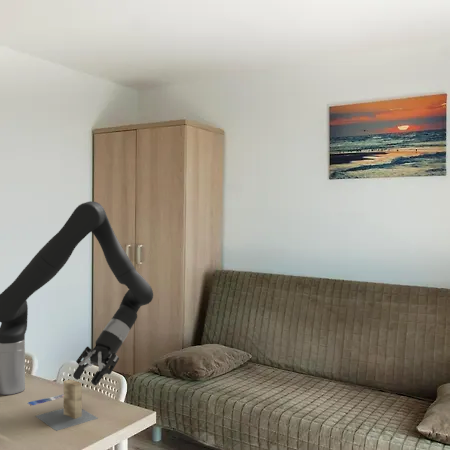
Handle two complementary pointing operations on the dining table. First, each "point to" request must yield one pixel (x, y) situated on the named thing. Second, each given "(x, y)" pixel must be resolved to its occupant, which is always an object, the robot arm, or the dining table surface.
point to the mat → (64, 419)
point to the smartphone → (45, 400)
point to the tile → (72, 398)
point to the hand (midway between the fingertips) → (84, 381)
